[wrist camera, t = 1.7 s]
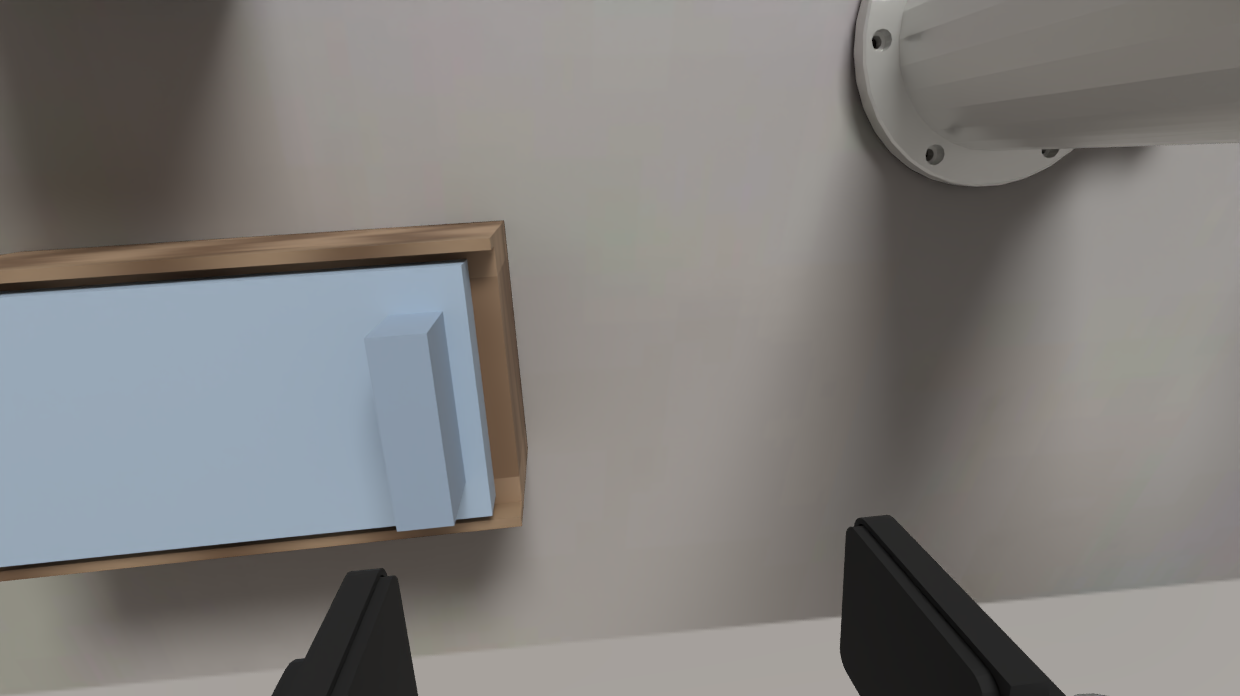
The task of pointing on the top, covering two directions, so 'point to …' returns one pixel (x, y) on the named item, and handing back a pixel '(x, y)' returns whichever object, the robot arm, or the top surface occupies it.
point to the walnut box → (313, 252)
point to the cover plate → (239, 410)
